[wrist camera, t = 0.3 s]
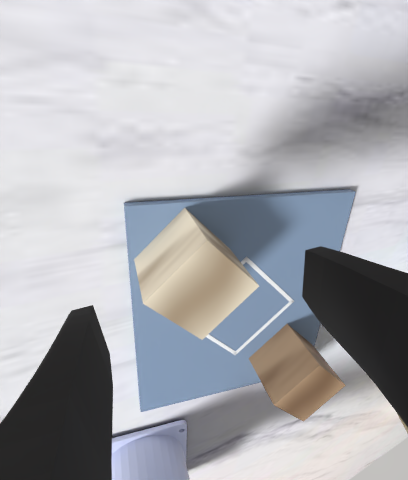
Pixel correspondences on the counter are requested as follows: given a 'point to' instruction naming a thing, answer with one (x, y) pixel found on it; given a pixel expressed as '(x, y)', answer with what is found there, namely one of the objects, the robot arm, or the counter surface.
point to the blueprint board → (252, 308)
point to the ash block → (192, 276)
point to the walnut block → (295, 373)
